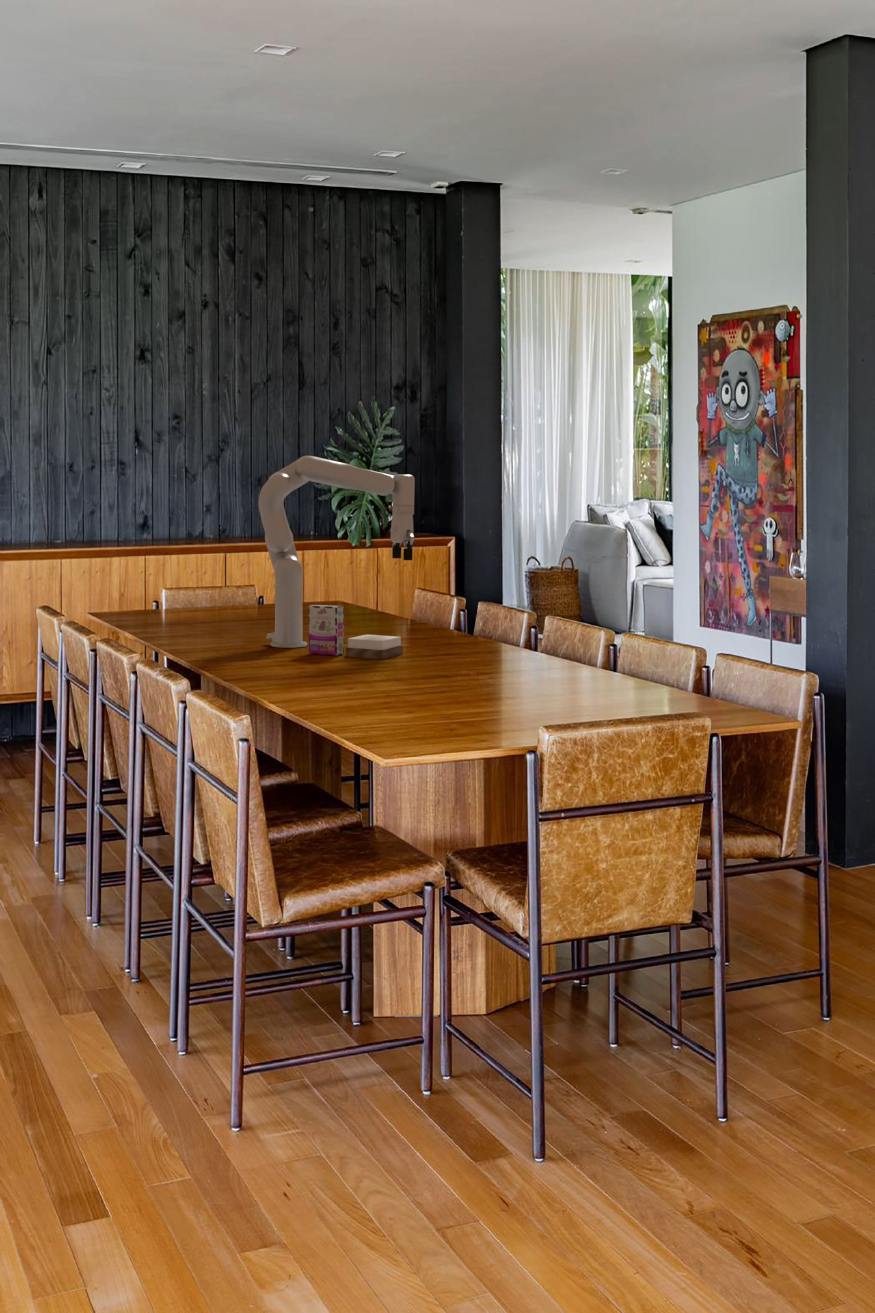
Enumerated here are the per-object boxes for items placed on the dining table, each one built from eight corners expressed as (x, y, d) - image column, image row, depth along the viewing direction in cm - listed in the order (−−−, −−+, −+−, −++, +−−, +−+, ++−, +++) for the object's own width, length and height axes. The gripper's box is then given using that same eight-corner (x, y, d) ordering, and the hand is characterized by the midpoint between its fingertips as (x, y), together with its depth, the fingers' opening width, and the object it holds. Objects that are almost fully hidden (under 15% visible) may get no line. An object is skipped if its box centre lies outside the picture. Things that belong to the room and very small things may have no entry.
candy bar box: (344, 654, 473) (344, 605, 471) (336, 656, 469) (336, 606, 467) (316, 652, 478) (316, 603, 476) (308, 653, 474) (308, 605, 472)
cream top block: (347, 647, 469) (347, 638, 469) (366, 643, 481) (366, 634, 480) (382, 650, 463) (382, 640, 463) (400, 645, 475) (400, 636, 475)
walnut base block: (345, 658, 469) (345, 647, 469) (365, 653, 482) (366, 643, 481) (383, 660, 463) (383, 650, 463) (402, 655, 476) (402, 645, 475)
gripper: (383, 509, 500) (382, 557, 502) (403, 510, 485) (402, 561, 487) (403, 509, 503) (402, 557, 506) (423, 511, 488) (422, 560, 490)
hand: (402, 559), depth 496 cm, fingers open, 9 cm apart
